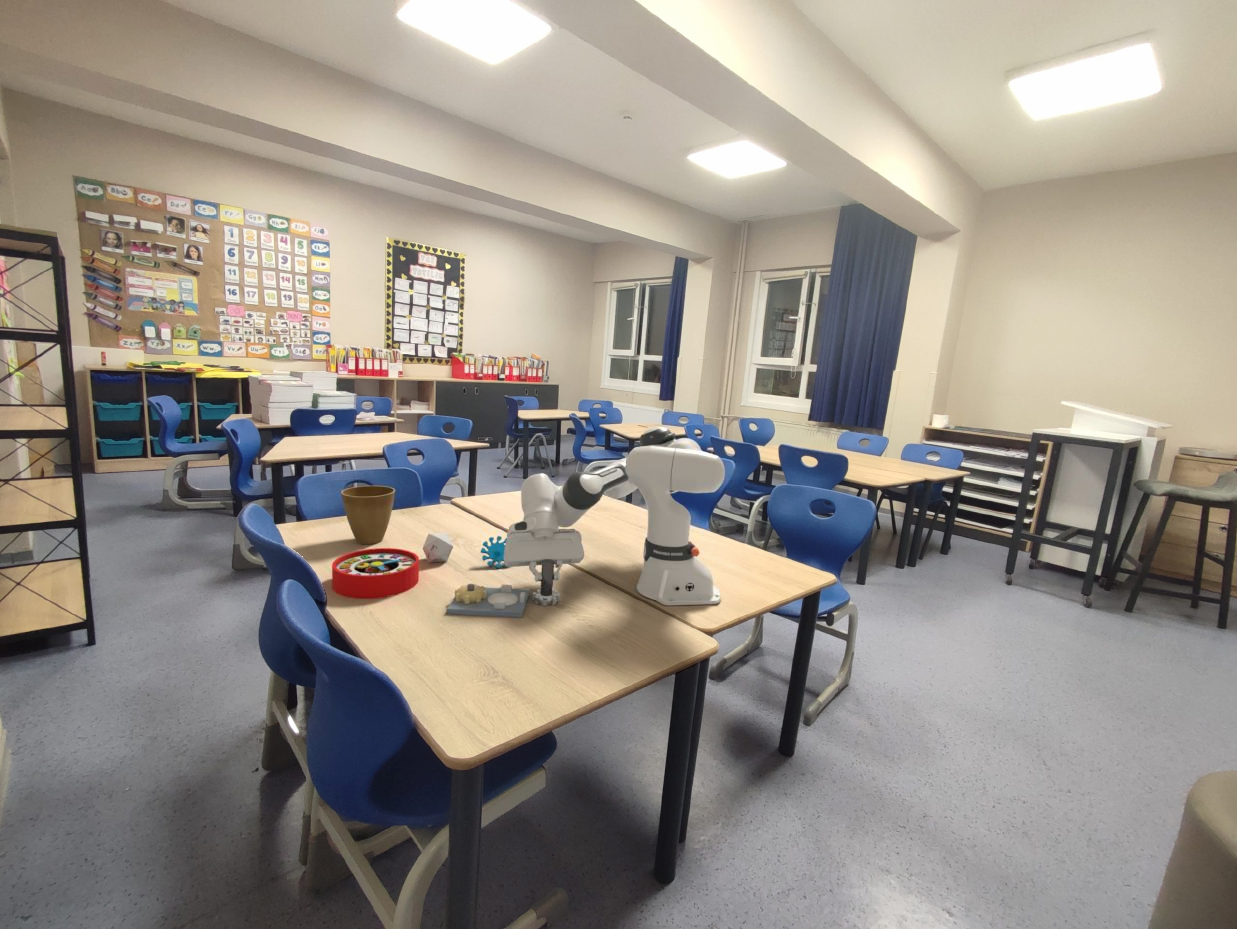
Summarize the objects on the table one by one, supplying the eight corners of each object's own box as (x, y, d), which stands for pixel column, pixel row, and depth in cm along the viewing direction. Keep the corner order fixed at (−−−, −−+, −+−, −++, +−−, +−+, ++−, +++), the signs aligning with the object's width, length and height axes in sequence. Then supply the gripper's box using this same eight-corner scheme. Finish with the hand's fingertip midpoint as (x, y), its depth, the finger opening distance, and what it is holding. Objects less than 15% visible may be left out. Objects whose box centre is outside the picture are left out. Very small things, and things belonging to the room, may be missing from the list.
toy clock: (320, 557, 133) (399, 543, 147) (321, 579, 134) (399, 563, 148) (348, 582, 120) (432, 565, 134) (348, 607, 121) (432, 586, 135)
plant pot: (378, 530, 174) (378, 483, 171) (404, 541, 166) (404, 491, 163) (332, 539, 162) (331, 489, 159) (358, 552, 154) (357, 498, 151)
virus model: (479, 565, 147) (482, 533, 152) (476, 573, 151) (479, 542, 157) (519, 568, 150) (520, 537, 156) (514, 576, 155) (516, 546, 161)
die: (415, 560, 152) (416, 541, 146) (434, 540, 158) (435, 520, 152) (440, 573, 152) (441, 555, 145) (457, 552, 158) (459, 533, 151)
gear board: (529, 594, 134) (530, 577, 133) (521, 617, 121) (522, 599, 120) (461, 590, 133) (462, 573, 132) (447, 613, 120) (447, 595, 120)
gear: (560, 595, 135) (562, 557, 133) (558, 606, 128) (560, 566, 126) (534, 594, 134) (536, 555, 133) (530, 605, 128) (532, 565, 126)
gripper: (577, 534, 143) (585, 582, 136) (500, 536, 136) (504, 587, 129) (582, 523, 138) (591, 572, 131) (503, 525, 131) (508, 577, 124)
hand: (547, 580), depth 130 cm, fingers closed on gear, 3 cm apart
